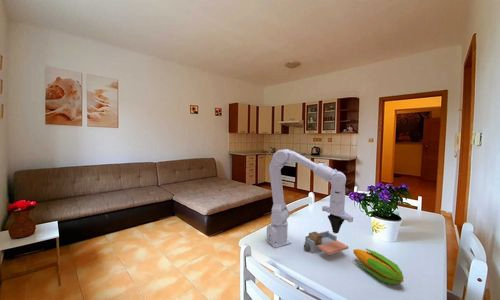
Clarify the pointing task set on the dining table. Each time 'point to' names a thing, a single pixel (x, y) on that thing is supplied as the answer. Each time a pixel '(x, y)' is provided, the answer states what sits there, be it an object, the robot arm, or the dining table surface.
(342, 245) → the thick rectangular slab
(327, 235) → the grey boxy piece
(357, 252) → the corn
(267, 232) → the robot arm
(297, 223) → the dining table surface
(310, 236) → the block
